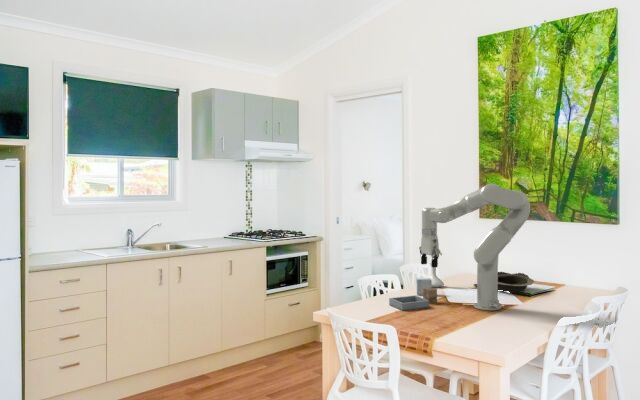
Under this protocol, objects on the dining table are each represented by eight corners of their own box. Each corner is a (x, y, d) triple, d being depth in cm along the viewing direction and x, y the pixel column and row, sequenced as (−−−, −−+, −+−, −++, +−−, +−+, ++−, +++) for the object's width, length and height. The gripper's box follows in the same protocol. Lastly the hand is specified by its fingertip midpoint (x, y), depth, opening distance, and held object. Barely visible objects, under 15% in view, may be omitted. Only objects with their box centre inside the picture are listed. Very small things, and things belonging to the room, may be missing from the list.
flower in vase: (439, 289, 302) (439, 245, 301) (420, 287, 308) (420, 244, 307) (447, 285, 313) (447, 243, 312) (429, 283, 319) (429, 242, 318)
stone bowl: (499, 284, 313) (501, 268, 312) (541, 293, 295) (542, 277, 294) (477, 290, 296) (478, 273, 295) (520, 300, 278) (521, 283, 277)
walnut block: (437, 303, 269) (436, 289, 269) (428, 304, 268) (428, 290, 267) (431, 301, 274) (431, 287, 274) (423, 302, 272) (423, 288, 272)
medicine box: (430, 293, 291) (430, 278, 291) (431, 295, 287) (431, 279, 286) (416, 293, 292) (416, 278, 292) (417, 295, 287) (416, 279, 287)
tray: (429, 307, 260) (429, 300, 260) (402, 310, 254) (402, 303, 254) (415, 302, 272) (415, 295, 272) (389, 305, 267) (389, 298, 266)
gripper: (445, 233, 263) (445, 267, 264) (426, 230, 279) (426, 262, 280) (432, 234, 260) (432, 268, 261) (414, 230, 276) (413, 263, 277)
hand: (429, 265), depth 270 cm, fingers open, 9 cm apart
